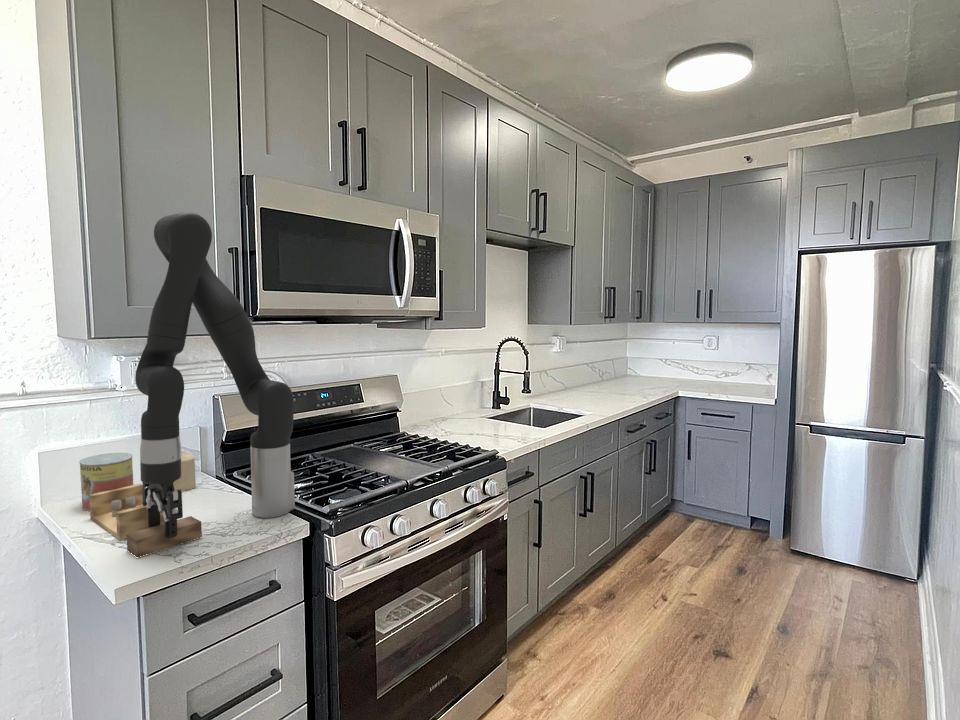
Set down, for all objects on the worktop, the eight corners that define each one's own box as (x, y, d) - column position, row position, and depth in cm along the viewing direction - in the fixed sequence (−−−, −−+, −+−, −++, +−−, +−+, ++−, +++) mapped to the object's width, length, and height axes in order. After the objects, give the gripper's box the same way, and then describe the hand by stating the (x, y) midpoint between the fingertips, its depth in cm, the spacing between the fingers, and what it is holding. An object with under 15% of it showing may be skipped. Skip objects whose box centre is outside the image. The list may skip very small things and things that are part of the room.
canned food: (73, 506, 139) (70, 460, 138) (120, 493, 149) (118, 450, 148) (95, 515, 133) (92, 467, 132) (143, 501, 143) (141, 456, 142)
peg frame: (141, 506, 139) (140, 483, 139) (173, 525, 128) (172, 500, 127) (90, 519, 131) (89, 494, 130) (120, 540, 119) (118, 513, 118)
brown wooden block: (191, 533, 124) (190, 516, 124) (201, 538, 121) (201, 521, 121) (127, 552, 114) (126, 534, 114) (137, 559, 111) (136, 540, 110)
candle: (189, 491, 151) (188, 456, 150) (169, 491, 151) (168, 456, 150) (199, 485, 157) (198, 451, 156) (180, 484, 157) (178, 450, 156)
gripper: (194, 460, 114) (195, 535, 115) (165, 449, 123) (166, 519, 124) (155, 467, 108) (157, 546, 109) (128, 455, 117) (129, 528, 118)
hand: (162, 532), depth 117 cm, fingers open, 8 cm apart
